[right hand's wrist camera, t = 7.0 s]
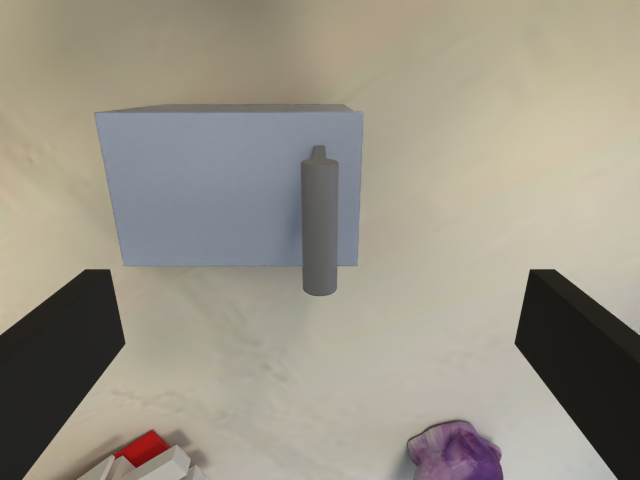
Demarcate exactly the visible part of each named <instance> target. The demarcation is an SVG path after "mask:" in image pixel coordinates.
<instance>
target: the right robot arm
mask: <svg viewBox="0 0 640 480" xmlns="http://www.w3.org/2000/svg"><path fill="white" fill-rule="evenodd" d="M124 345H125V339H124V334H123V329H122V325H121V320H120V315H119V310H118V305H117V301H116V296H115V291H114V286H113V281H112V277H111V272H110V269H85V270H84V271H83V272H82V273H80V274H79V275H78V276H76V277H75V278H74V279H72V280H71V281H70V282H69V283H67V284H66V285H65V286H63V287H62V288H61V289H60V290H58V291H57V292H56V293H54V294H53V295H52V296H51V297H49V298H48V299H47V300H45V301H44V302H43V303H41V304H40V305H39V306H38V307H36V308H35V309H34V310H32V311H31V312H30V313H29V314H27V315H26V316H25V317H23V318H22V319H21V320H20V321H18V322H17V323H16V324H14V325H13V326H12V327H10V328H9V329H8V330H7V331H5V332H4V333H3V334H1V335H0V480H22V479H23V478H24V476H25V475H26V474H27V472H28V471H29V470H30V468H31V467H32V466H33V464H34V463H35V462H36V461H37V459H38V458H39V457H40V455H41V454H42V453H43V451H44V450H45V449H46V447H47V446H48V445H49V443H50V442H51V441H52V440H53V438H54V437H55V436H56V434H57V433H58V432H59V430H60V429H61V428H62V426H63V425H64V424H65V422H66V421H67V420H68V418H69V417H70V416H71V415H72V413H73V412H74V411H75V409H76V408H77V407H78V405H79V404H80V403H81V401H82V400H83V399H84V397H85V396H86V395H87V393H88V392H89V391H90V390H91V388H92V387H93V386H94V384H95V383H96V382H97V380H98V379H99V378H100V376H101V375H102V374H103V372H104V371H105V370H106V369H107V367H108V366H109V365H110V363H111V362H112V361H113V359H114V358H115V357H116V355H117V354H118V353H119V351H120V350H121V349H122V347H123V346H124ZM515 345H516V346H517V347H518V349H519V350H520V351H521V353H522V354H523V355H524V357H525V358H526V359H527V361H528V362H529V363H530V365H531V366H532V367H533V369H534V370H535V371H536V372H537V374H538V375H539V376H540V378H541V379H542V380H543V382H544V383H545V384H546V386H547V387H548V388H549V390H550V391H551V392H552V393H553V395H554V396H555V397H556V399H557V400H558V401H559V403H560V404H561V405H562V407H563V408H564V409H565V411H566V412H567V413H568V415H569V416H570V417H571V418H572V420H573V421H574V422H575V424H576V425H577V426H578V428H579V429H580V430H581V432H582V433H583V434H584V436H585V437H586V438H587V440H588V441H589V442H590V443H591V445H592V446H593V447H594V449H595V450H596V451H597V453H598V454H599V455H600V457H601V458H602V459H603V461H604V462H605V463H606V464H607V466H608V467H609V468H610V470H611V471H612V472H613V474H614V475H615V476H616V478H617V479H618V480H640V335H639V334H637V333H636V332H635V331H633V330H632V329H631V328H630V327H628V326H627V325H626V324H624V323H623V322H622V321H620V320H619V319H618V318H617V317H615V316H614V315H613V314H611V313H610V312H609V311H608V310H606V309H605V308H604V307H602V306H601V305H600V304H599V303H597V302H596V301H595V300H593V299H592V298H591V297H589V296H588V295H587V294H586V293H584V292H583V291H582V290H580V289H579V288H578V287H577V286H575V285H574V284H573V283H571V282H570V281H569V280H568V279H566V278H565V277H564V276H562V275H561V274H560V273H558V272H557V271H556V270H555V269H530V272H529V277H528V281H527V286H526V291H525V296H524V301H523V305H522V310H521V315H520V320H519V325H518V329H517V334H516V339H515Z"/></svg>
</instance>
